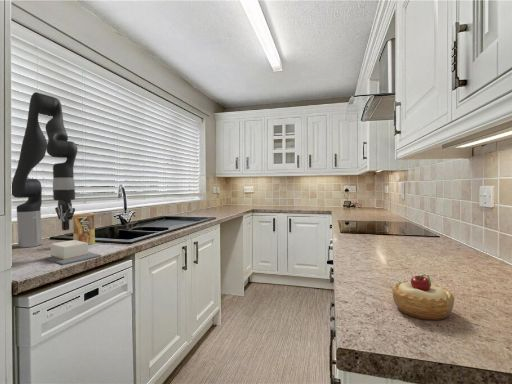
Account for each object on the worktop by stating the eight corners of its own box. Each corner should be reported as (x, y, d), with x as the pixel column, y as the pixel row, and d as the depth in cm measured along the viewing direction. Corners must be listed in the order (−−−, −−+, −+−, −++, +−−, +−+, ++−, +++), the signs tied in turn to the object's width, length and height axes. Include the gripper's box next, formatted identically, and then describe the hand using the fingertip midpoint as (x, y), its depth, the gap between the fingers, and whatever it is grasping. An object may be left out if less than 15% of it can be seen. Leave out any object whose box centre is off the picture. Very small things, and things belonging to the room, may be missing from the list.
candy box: (93, 242, 144) (92, 212, 144) (95, 243, 141) (94, 213, 141) (73, 245, 139) (72, 214, 138) (74, 246, 135) (73, 215, 135)
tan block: (50, 243, 116) (63, 247, 109) (74, 239, 123) (87, 242, 117) (50, 255, 116) (64, 259, 109) (74, 251, 123) (88, 254, 117)
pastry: (424, 300, 70) (425, 264, 70) (467, 322, 59) (468, 279, 59) (381, 302, 68) (381, 266, 68) (416, 325, 57) (417, 281, 57)
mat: (45, 259, 113) (45, 257, 113) (82, 251, 125) (82, 250, 125) (63, 265, 104) (63, 263, 104) (101, 256, 116) (101, 254, 116)
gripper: (46, 189, 118) (48, 230, 118) (61, 188, 110) (62, 232, 111) (66, 188, 124) (68, 227, 124) (81, 188, 117) (83, 229, 117)
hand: (65, 229), depth 118 cm, fingers closed
